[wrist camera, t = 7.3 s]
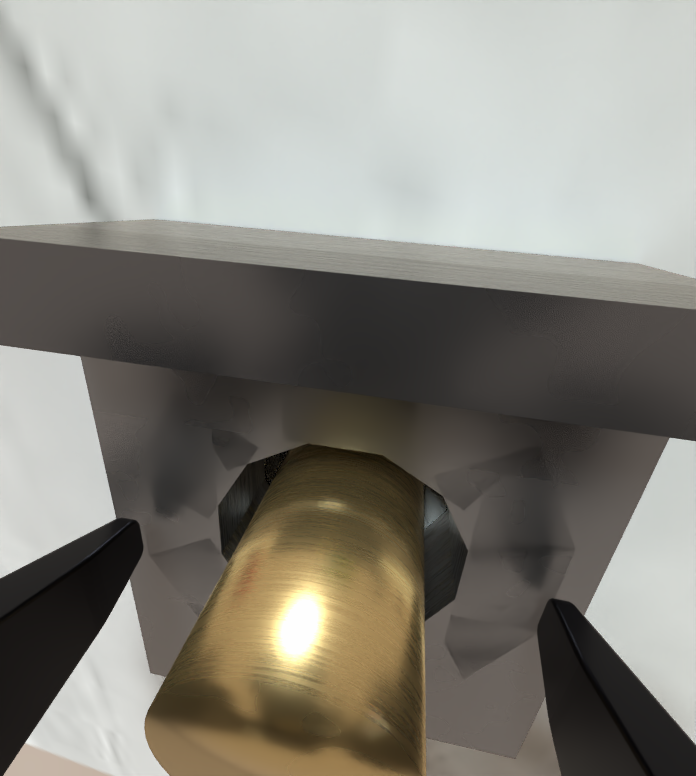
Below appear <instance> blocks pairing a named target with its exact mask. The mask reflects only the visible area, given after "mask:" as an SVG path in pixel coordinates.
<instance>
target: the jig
mask: <svg viewBox="0 0 696 776" xmlns="http://www.w3.org/2000/svg"><path fill="white" fill-rule="evenodd" d="M0 345H3V346H11V347H18V348H25V349H32V350H40V351H47V352H54V353H61V354H69V355H76V356H81V360H82V365H83V369H84V374H85V378H86V383H87V388H88V392H89V397H90V401H91V406H92V410H93V415H94V419H95V424H96V428H97V433H98V437H99V442H100V446H101V451H102V455H103V460H104V464H105V469H106V474H107V478H108V483H109V487H110V492H111V496H112V501H113V505H114V510H115V514H116V519H118V518H128V519H133V520H136V521H138V523H139V524H140V529H141V534H142V540H143V545H144V548H143V554H142V556H141V558H140V560H139V562H138V564H137V566H136V568H135V569H134V571H133V573H132V575H131V577H130V582H131V587H132V591H133V596H134V600H135V605H136V609H137V614H138V618H139V623H140V627H141V632H142V637H143V641H144V646H145V650H146V655H147V659H148V664H149V668H150V673H153V674H157V675H161V676H167V675H168V673H169V671H170V669H171V667H172V665H173V664H174V662H175V660H176V658H177V656H178V654H179V652H180V651H181V649H182V647H183V645H184V643H185V641H186V640H187V638H188V636H189V634H190V632H191V630H192V628H193V627H194V625H195V623H196V621H197V619H198V617H199V616H200V614H201V612H202V610H203V608H204V606H205V604H206V603H207V601H208V599H209V597H210V595H211V593H212V592H213V590H214V588H215V586H216V584H217V582H218V581H219V579H220V577H221V575H222V573H223V571H224V569H225V568H226V566H227V564H228V562H229V560H230V558H231V557H232V555H233V553H234V551H235V549H236V547H237V545H238V544H239V542H240V540H241V538H242V536H243V534H244V533H245V531H246V529H247V527H248V525H249V523H250V521H251V520H252V518H253V516H254V514H255V512H256V510H257V509H258V507H259V505H260V503H261V501H262V499H263V497H264V496H265V494H266V492H267V490H268V488H269V485H268V484H267V482H266V480H265V469H264V458H267V457H270V456H273V455H276V454H278V453H281V452H284V451H287V450H290V449H293V448H296V447H299V446H302V445H305V444H315V445H321V446H328V447H334V448H341V449H347V450H354V451H360V452H367V453H373V454H379V455H383V456H385V457H386V458H388V459H389V460H391V461H392V462H393V463H395V464H396V465H398V466H399V467H401V468H402V469H404V470H405V471H407V472H408V473H410V474H411V475H413V476H414V477H415V478H417V479H418V480H420V481H421V482H423V483H424V484H426V485H427V486H429V487H430V488H432V489H433V490H434V491H436V492H437V493H439V494H440V495H442V496H443V497H444V500H445V502H446V504H447V506H448V509H447V511H445V512H444V513H443V514H442V515H441V516H440V517H439V518H438V519H436V520H435V521H434V522H433V523H432V524H431V525H430V526H429V527H427V528H426V529H425V530H424V595H425V712H426V738H429V739H433V740H437V741H442V742H446V743H450V744H454V745H459V746H463V747H467V748H471V749H476V750H480V751H484V752H488V753H493V754H497V755H501V756H505V757H510V758H514V759H515V758H516V756H517V754H518V752H519V750H520V748H521V746H522V744H523V742H524V739H525V737H526V735H527V733H528V731H529V729H530V727H531V725H532V723H533V721H534V719H535V717H536V714H537V712H538V710H539V708H540V706H541V704H542V702H543V700H544V698H545V689H544V682H543V675H542V667H541V660H540V653H539V645H538V638H537V627H538V623H539V620H540V618H541V615H542V613H543V610H544V608H545V606H546V603H547V601H548V600H549V599H551V598H554V599H560V600H565V601H569V602H571V603H573V604H574V605H575V606H576V607H577V608H578V609H579V611H580V612H581V613H582V614H583V615H585V612H586V610H587V608H588V606H589V604H590V602H591V600H592V598H593V596H594V594H595V592H596V590H597V588H598V585H599V583H600V581H601V579H602V577H603V575H604V573H605V571H606V569H607V567H608V565H609V563H610V560H611V558H612V556H613V554H614V552H615V550H616V548H617V546H618V544H619V542H620V540H621V538H622V535H623V533H624V531H625V529H626V527H627V525H628V523H629V521H630V519H631V517H632V515H633V513H634V510H635V508H636V506H637V504H638V502H639V500H640V498H641V496H642V494H643V492H644V490H645V488H646V485H647V483H648V481H649V479H650V477H651V475H652V473H653V471H654V469H655V467H656V465H657V463H658V461H659V458H660V456H661V454H662V452H663V450H664V448H665V446H666V444H667V442H668V440H669V438H677V439H684V440H692V441H696V279H694V278H690V277H687V276H683V275H679V274H675V273H672V272H668V271H664V270H660V269H656V268H653V267H649V266H645V265H641V264H636V263H625V262H614V261H603V260H592V259H581V258H570V257H559V256H548V255H537V254H526V253H516V252H505V251H494V250H483V249H472V248H461V247H450V246H439V245H428V244H417V243H406V242H395V241H384V240H374V239H363V238H352V237H341V236H330V235H319V234H308V233H297V232H286V231H275V230H264V229H253V228H242V227H232V226H221V225H210V224H199V223H188V222H177V221H166V220H155V219H151V220H130V221H110V222H90V223H69V224H49V225H28V226H8V227H0Z"/></svg>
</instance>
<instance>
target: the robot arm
mask: <svg viewBox="0 0 696 776" xmlns="http://www.w3.org/2000/svg"><path fill="white" fill-rule="evenodd" d="M143 548H144V545H143V540H142V534H141V529H140V524H139V523H138V521H136V520H133V519H128V518H118V519H115V520H113V521H111V522H109V523H108V524H106V525H104V526H102V527H100V528H98V529H96V530H94V531H92V532H90V533H88V534H86V535H84V536H82V537H80V538H78V539H76V540H74V541H72V542H71V543H69V544H67V545H65V546H63V547H61V548H59V549H57V550H55V551H53V552H51V553H49V554H47V555H45V556H43V557H41V558H39V559H37V560H35V561H34V562H32V563H30V564H28V565H26V566H24V567H22V568H20V569H18V570H16V571H14V572H12V573H10V574H8V575H6V576H4V577H2V578H0V776H3V775H4V773H5V772H6V770H7V769H8V767H9V766H10V764H11V763H12V761H13V760H14V758H15V757H16V755H17V754H18V752H19V751H20V749H21V748H22V746H23V745H24V744H25V742H26V741H27V739H28V738H29V736H30V735H31V733H32V732H33V730H34V729H35V727H36V726H37V724H38V723H39V721H40V720H41V718H42V717H43V715H44V714H45V712H46V711H47V709H48V708H49V706H50V705H51V703H52V702H53V700H54V699H55V697H56V696H57V694H58V693H59V691H60V690H61V688H62V687H63V685H64V684H65V682H66V681H67V679H68V678H69V676H70V675H71V673H72V672H73V670H74V669H75V667H76V666H77V664H78V663H79V661H80V660H81V658H82V657H83V655H84V654H85V652H86V651H87V649H88V648H89V646H90V645H91V643H92V642H93V640H94V639H95V637H96V636H97V634H98V633H99V631H100V630H101V628H102V627H103V625H104V624H105V622H106V620H107V618H108V617H109V615H110V613H111V612H112V610H113V608H114V606H115V604H116V602H117V601H118V599H119V597H120V595H121V593H122V591H123V590H124V588H125V586H126V584H127V582H128V580H129V579H130V577H131V575H132V573H133V571H134V569H135V568H136V566H137V564H138V562H139V560H140V558H141V556H142V554H143ZM537 638H538V645H539V653H540V660H541V667H542V675H543V682H544V689H545V697H546V704H547V711H548V717H549V723H550V728H551V732H552V737H553V741H554V746H555V750H556V754H557V758H558V763H559V767H560V771H561V775H562V776H696V745H695V743H694V742H693V741H692V740H691V739H690V738H689V737H688V735H687V734H686V733H685V732H684V731H683V730H682V728H681V727H680V726H679V725H678V724H677V723H676V721H675V720H674V719H673V718H672V717H671V716H670V715H669V713H668V712H667V711H666V710H665V709H664V708H663V706H662V705H661V704H660V703H659V702H658V701H657V700H656V698H655V697H654V696H653V695H652V694H651V693H650V691H649V690H648V689H647V688H646V687H645V686H644V685H643V683H642V682H641V681H640V680H639V679H638V678H637V676H636V675H635V674H634V673H633V672H632V671H631V670H630V668H629V667H628V666H627V665H626V664H625V663H624V661H623V660H622V659H621V658H620V657H619V656H618V655H617V653H616V652H615V651H614V650H613V649H612V648H611V646H610V645H609V644H608V643H607V642H606V641H605V639H604V638H603V637H602V636H601V635H600V634H599V633H598V631H597V630H596V629H595V628H594V627H593V626H592V624H591V623H590V622H589V621H588V620H587V619H586V618H585V616H584V615H583V614H582V613H581V612H580V611H579V609H578V608H577V607H576V606H575V605H574V604H573V603H571V602H569V601H565V600H560V599H554V598H551V599H549V600H548V601H547V603H546V606H545V608H544V610H543V613H542V615H541V618H540V620H539V623H538V627H537Z"/></svg>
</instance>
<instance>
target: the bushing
mask: <svg viewBox="0 0 696 776" xmlns="http://www.w3.org/2000/svg"><path fill="white" fill-rule="evenodd" d="M144 728H145V735H146V739H147V742H148V745H149V748H150V749H151V751H152V753H153V755H154V757H155V758H156V759H157V761H158V762H159V764H160V765H161V766H162V767H163V769H164V770H165V771H166V772H167V773H168V774H169V775H170V776H426V712H425V595H424V483H423V482H421V481H420V480H418V479H417V478H415V477H414V476H413V475H411V474H410V473H408V472H407V471H405V470H404V469H402V468H401V467H399V466H398V465H396V464H395V463H393V462H392V461H391V460H389V459H388V458H386V457H385V456H383V455H379V454H373V453H367V452H360V451H354V450H347V449H341V448H334V447H328V446H321V445H315V444H305V445H302V446H299V447H296V448H293V449H290V450H289V451H288V453H287V455H286V457H285V459H284V461H283V462H282V464H281V466H280V468H279V470H278V472H277V473H276V475H275V477H274V479H273V481H272V483H271V485H270V486H269V488H268V490H267V492H266V494H265V496H264V497H263V499H262V501H261V503H260V505H259V507H258V509H257V510H256V512H255V514H254V516H253V518H252V520H251V521H250V523H249V525H248V527H247V529H246V531H245V533H244V534H243V536H242V538H241V540H240V542H239V544H238V545H237V547H236V549H235V551H234V553H233V555H232V557H231V558H230V560H229V562H228V564H227V566H226V568H225V569H224V571H223V573H222V575H221V577H220V579H219V581H218V582H217V584H216V586H215V588H214V590H213V592H212V593H211V595H210V597H209V599H208V601H207V603H206V604H205V606H204V608H203V610H202V612H201V614H200V616H199V617H198V619H197V621H196V623H195V625H194V627H193V628H192V630H191V632H190V634H189V636H188V638H187V640H186V641H185V643H184V645H183V647H182V649H181V651H180V652H179V654H178V656H177V658H176V660H175V662H174V664H173V665H172V667H171V669H170V671H169V673H168V675H167V676H166V678H165V680H164V682H163V684H162V686H161V688H160V689H159V691H158V693H157V695H156V697H155V699H154V700H153V702H152V704H151V706H150V708H149V710H148V712H147V715H146V718H145V727H144Z"/></svg>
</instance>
